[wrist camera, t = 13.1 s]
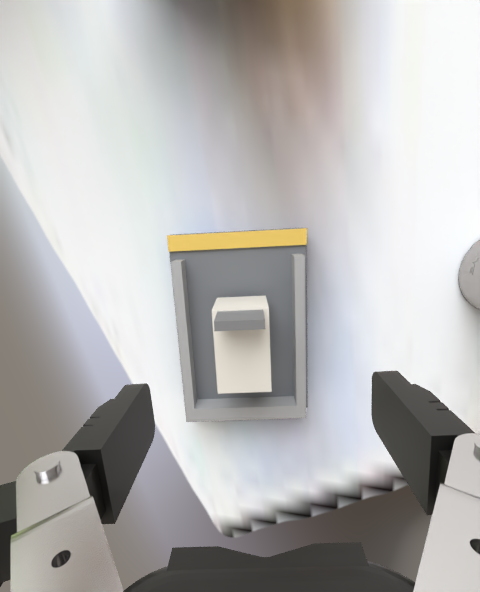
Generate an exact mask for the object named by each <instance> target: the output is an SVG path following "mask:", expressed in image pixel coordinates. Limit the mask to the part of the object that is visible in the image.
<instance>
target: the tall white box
mask: <svg viewBox="0 0 480 592" xmlns="http://www.w3.org/2000/svg"><path fill="white" fill-rule="evenodd" d="M212 323H213V337H214V350H215V364H216V377H217V391H218V394H222V393H251V392H272V388H271V357H270V327H269V307H268V303H267V299H266V295H265V296H243V297H221V298H217V299H216V301H215V304H214V306H213V308H212Z"/></svg>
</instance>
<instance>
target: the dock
mask: <svg viewBox="0 0 480 592" xmlns="http://www.w3.org/2000/svg"><path fill="white" fill-rule="evenodd" d="M167 239H168V249H169V252H170V262H171V272H172V282H173V292H174V302H175V312H176V322H177V332H178V342H179V352H180V362H181V372H182V382H183V392H184V402H185V412H186V422H199V421H229V420H260V419H291V418H306V407H307V273H306V245H307V228H290V229H271V230H252V231H233V232H214V233H196V234H177V235H168V236H167ZM265 295H266V299H267V303H268V307H269V327H270V357H271V388H272V392H251V393H222V394H218V391H217V377H216V364H215V350H214V337H213V323H212V308H213V306H214V304H215V301H216V299H217V298H221V297H243V296H265Z"/></svg>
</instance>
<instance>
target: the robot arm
mask: <svg viewBox="0 0 480 592" xmlns="http://www.w3.org/2000/svg"><path fill="white" fill-rule="evenodd" d="M459 284H460V289H461V291H462V294H463V295H464V297H465V298H466V300H467V301H468V302H469V303H470V304H472V305H473V306H474V307H476V308H478V309H480V240H479V241H477V242H476V243H475V244H474V245H473V246H472V247H471V248H470V250H469V251H468V252H467V253H466V255H465V257H464V259H463V261H462V264H461V267H460V270H459ZM372 420H373V425H374V428H375V430H376V432H377V434H378V435H379V437H380V439H381V440H382V442H383V444H384V445H385V447H386V449H387V450H388V452H389V454H390V455H391V457H392V458H393V460H394V462H395V463H396V465H397V467H398V468H399V470H400V472H401V473H402V475H403V477H404V478H405V480H406V482H407V483H408V485H409V486H410V488H411V490H412V491H413V493H414V495H415V496H416V498H417V500H418V501H419V503H420V504H421V506H422V508H423V509H424V511H425V512H426V514H427V515H432V518H431V522H430V527H429V530H428V534H427V538H426V542H425V546H424V550H423V554H422V559H421V562H420V566H419V570H418V574H417V578H416V582H413V581H412V580H410V579H408V578H407V577H405V576H403V575H401V574H400V573H398V572H396V571H394V570H391V569H389V568H387V567H384V566H382V565H379V564H376V563H372V562H368V561H367V559H366V556H365V553H364V550H363V547H362V545H361V543H324V544H311V545H308V546H305V547H301V548H298V549H295V550H292V551H288V552H285V553H281V554H278V555H275V556H272V557H259V556H255V555H251V554H246V553H242V552H238V551H234V550H230V549H226V548H222V547H184V548H172V552H171V556H170V560H169V564H168V566H167V567H164V568H161V569H159V570H157V571H154V572H152V573H150V574H148V575H146V576H145V577H143V578H141V579H139V580H138V581H136V582H135V583H133V584H132V585H131V586H129V587H128V588H127V589H126V590H124V591H123V588H122V585H121V582H120V579H119V576H118V573H117V570H116V567H115V564H114V560H113V557H112V554H111V551H110V548H109V545H108V542H107V539H106V536H105V533H104V530H103V526H102V524H115V522H116V520H117V518H118V516H119V513H120V511H121V509H122V507H123V505H124V503H125V500H126V498H127V496H128V494H129V492H130V489H131V487H132V485H133V483H134V480H135V478H136V476H137V474H138V472H139V470H140V468H141V465H142V463H143V461H144V459H145V457H146V454H147V452H148V450H149V448H150V446H151V443H152V441H153V438H154V432H155V422H154V415H153V408H152V401H151V394H150V389H149V386H148V384H131V385H125V386H124V387H123V388H122V390H121V391H120V392H119V394H118V395H117V396H116V397H115V399H110V400H109V401H107V402H106V403H104V404H103V405H101V406H100V407H98V408H97V409H96V411H95V412H94V413H93V414H92V415H91V417H90V419H88V420H87V421H86V423H85V424H84V425H83V427H81V429H80V430H79V431H78V432H77V433H76V434H75V436H74V437H73V438H72V439H71V440H70V442H69V443H68V444H67V445H66V447H65V448H64V449H63V450H62V451H60V452H55V453H51V454H48V455H45V456H43V457H41V458H39V459H37V460H35V461H34V462H33V463H31V464H29V465H28V466H27V467H26V468H25V469H24V470H23V471H22V472H21V473H20V474H19V476H18V478H17V480H16V481H15V482H11V483H7V484H4V485H0V587H1V585H2V583H3V582H5V581H8V580H11V592H480V434H476V433H474V432H473V431H472V430H471V429H470V428H469V427H468V426H467V425H466V424H465V423H464V422H463V421H461V420H460V419H459V418H458V417H457V416H456V415H455V414H454V413H453V412H452V411H451V410H450V411H449V409H448V408H447V407H446V406H445V405H444V404H443V403H441V402H440V400H439V399H438V398H437V397H436V396H434V395H433V394H432V393H431V392H430V391H428V390H426V389H424V388H422V387H420V386H418V385H416V384H410V383H409V382H408V381H407V380H406V379H405V378H404V377H403V376H402V375H401V374H400V373H399V372H398V371H383V372H374V373H373V376H372Z"/></svg>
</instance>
